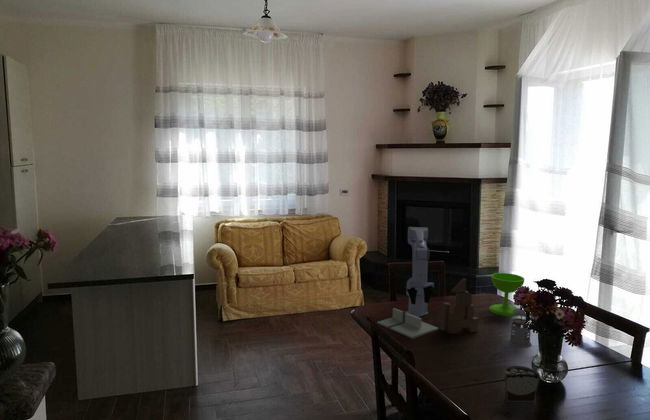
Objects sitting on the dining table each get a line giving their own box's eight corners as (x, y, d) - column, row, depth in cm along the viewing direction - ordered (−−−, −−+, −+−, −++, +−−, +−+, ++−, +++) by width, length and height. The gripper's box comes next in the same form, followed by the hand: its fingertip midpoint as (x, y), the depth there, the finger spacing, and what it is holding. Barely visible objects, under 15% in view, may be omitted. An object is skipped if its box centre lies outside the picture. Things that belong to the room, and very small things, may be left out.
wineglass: (482, 307, 253) (484, 274, 251) (507, 304, 258) (510, 272, 256) (502, 317, 238) (504, 282, 236) (528, 314, 243) (531, 280, 241)
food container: (530, 392, 167) (532, 365, 165) (538, 401, 160) (541, 373, 159) (495, 392, 166) (497, 364, 165) (502, 401, 160) (504, 373, 159)
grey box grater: (506, 344, 206) (510, 288, 203) (509, 335, 216) (513, 281, 213) (531, 349, 202) (535, 292, 198) (533, 339, 212) (537, 285, 208)
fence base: (394, 317, 233) (394, 307, 232) (405, 322, 227) (406, 312, 226) (392, 318, 232) (392, 308, 231) (404, 323, 226) (404, 312, 225)
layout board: (402, 315, 238) (403, 314, 238) (438, 329, 221) (438, 327, 221) (376, 323, 227) (377, 321, 227) (412, 338, 210) (412, 337, 210)
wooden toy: (469, 326, 226) (473, 274, 222) (477, 331, 219) (481, 279, 216) (439, 328, 222) (442, 276, 219) (446, 334, 216) (450, 280, 212)
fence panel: (404, 322, 226) (405, 313, 225) (406, 322, 227) (406, 312, 226) (419, 328, 219) (420, 319, 218) (421, 327, 220) (421, 318, 219)
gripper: (413, 276, 214) (412, 306, 214) (439, 274, 220) (437, 304, 221) (404, 273, 220) (403, 303, 220) (429, 272, 227) (428, 300, 227)
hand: (419, 303), depth 221 cm, fingers open, 7 cm apart
